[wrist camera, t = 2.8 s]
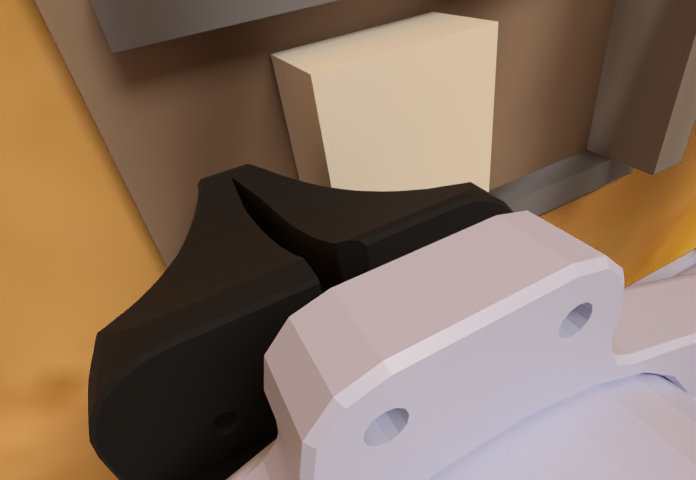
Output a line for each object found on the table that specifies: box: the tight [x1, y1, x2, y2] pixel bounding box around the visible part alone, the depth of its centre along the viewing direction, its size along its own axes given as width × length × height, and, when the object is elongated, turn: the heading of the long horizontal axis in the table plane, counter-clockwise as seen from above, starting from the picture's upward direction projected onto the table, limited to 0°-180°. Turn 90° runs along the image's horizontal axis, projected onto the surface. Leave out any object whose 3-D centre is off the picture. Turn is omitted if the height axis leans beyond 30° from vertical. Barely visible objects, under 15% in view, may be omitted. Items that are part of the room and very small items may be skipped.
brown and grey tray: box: [35, 0, 696, 268], centre depth 14 cm, size 20×13×4 cm, turn 100°
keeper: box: [271, 12, 498, 192], centre depth 13 cm, size 5×6×3 cm
